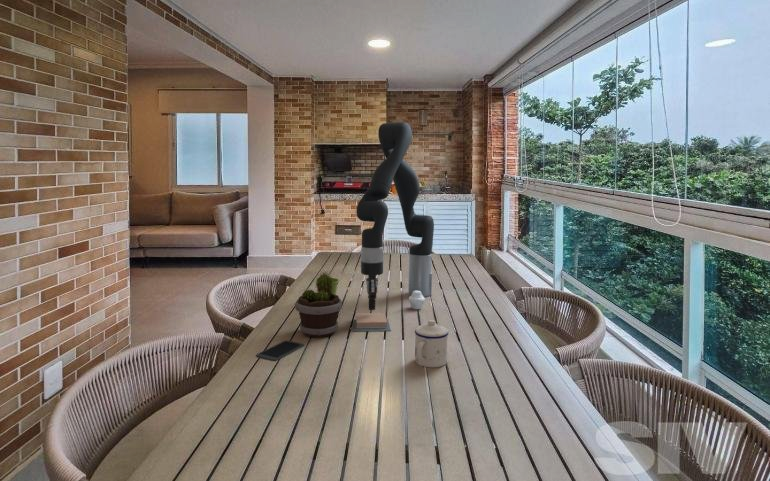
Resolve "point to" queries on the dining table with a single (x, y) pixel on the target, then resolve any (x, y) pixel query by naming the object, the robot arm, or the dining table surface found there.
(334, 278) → the plant pot
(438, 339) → the teacup with lid
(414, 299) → the white citrus juicer
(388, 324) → the mat
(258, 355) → the cell phone
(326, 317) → the flowerpot
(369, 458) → the dining table surface
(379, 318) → the tile
